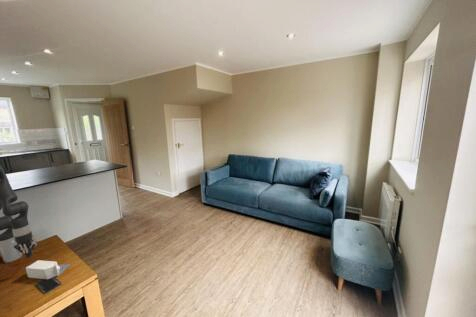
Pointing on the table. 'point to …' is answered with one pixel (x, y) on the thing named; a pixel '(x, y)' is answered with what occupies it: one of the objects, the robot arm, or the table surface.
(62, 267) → the mat
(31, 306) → the table surface
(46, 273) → the milk carton
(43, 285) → the phone
